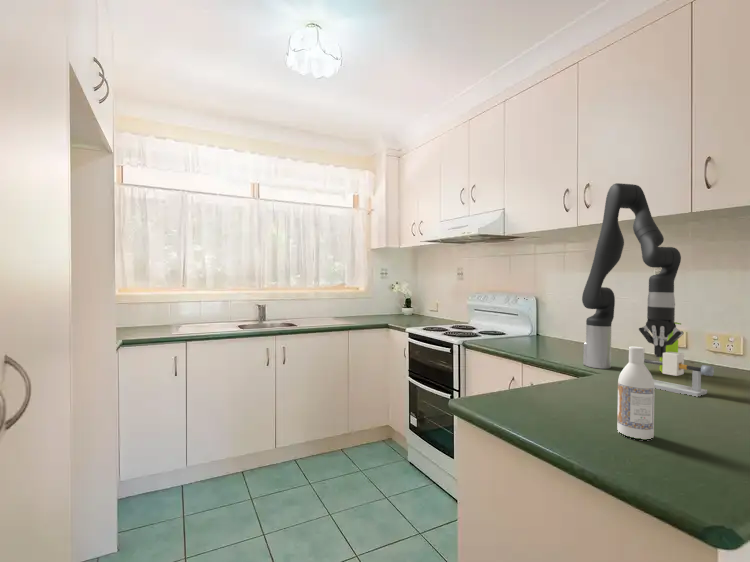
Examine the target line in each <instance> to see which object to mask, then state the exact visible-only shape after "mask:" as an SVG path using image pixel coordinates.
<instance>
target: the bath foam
mask: <svg viewBox="0 0 750 562" xmlns="http://www.w3.org/2000/svg"><path fill="white" fill-rule="evenodd" d="M644 359H645V348H644V347H642V346H635V345H633V346H632V345H631V346H629V347H628V363H626V365H625V366H624V367H623V369H622V370H621V372H620V373H619V375H618V380H617V414H616V415H617V418H616V419H617V425H616V426H617V427H616V429H617V430H618V431H617V433H619V432H620V433H622V434H624V435H626V436H630V437H634V438H641V439H651V438H653V439H654V436H655V390H656V389H655V386H654V380H655V379H654V377H653V375H652V373H651V372H650V370H649V369H648V367H647V366H646V365H645V362H644ZM651 440H652V439H651Z"/></svg>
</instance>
